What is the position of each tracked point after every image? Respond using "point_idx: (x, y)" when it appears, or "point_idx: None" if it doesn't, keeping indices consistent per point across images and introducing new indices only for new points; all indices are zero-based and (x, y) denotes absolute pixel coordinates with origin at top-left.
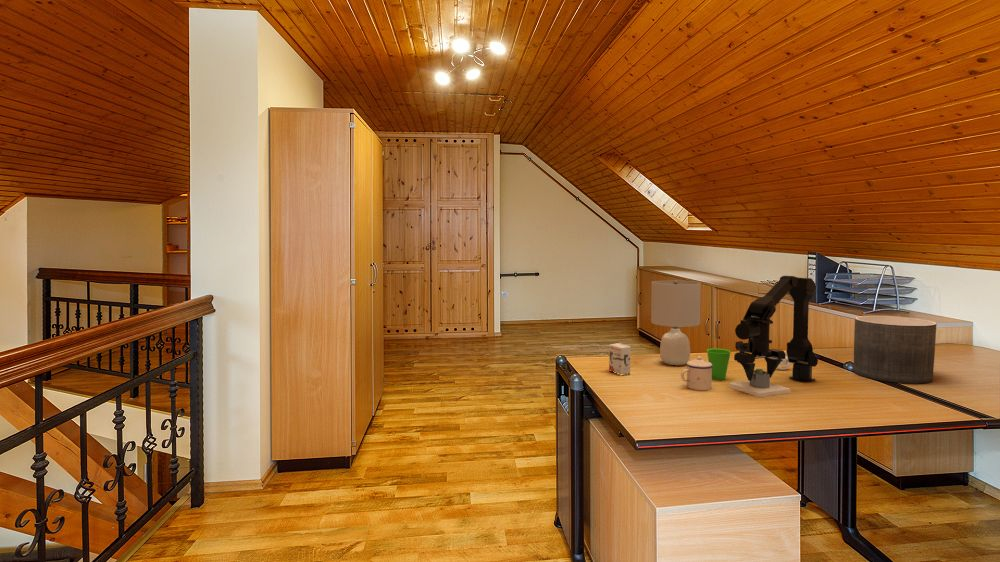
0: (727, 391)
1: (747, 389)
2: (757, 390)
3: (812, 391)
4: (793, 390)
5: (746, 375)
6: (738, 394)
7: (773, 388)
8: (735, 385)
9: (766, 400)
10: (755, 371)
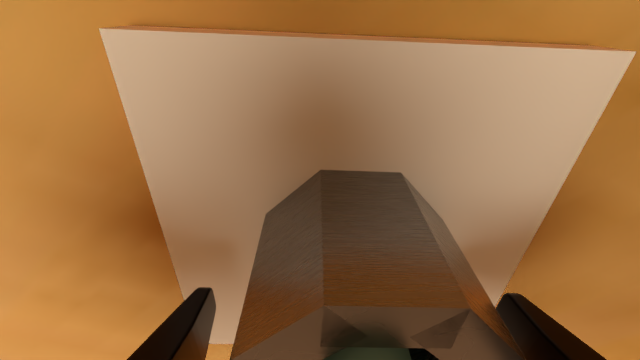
0: (33, 146)
1: (174, 264)
2: (228, 308)
3: (597, 337)
4: (539, 299)
5: (150, 336)
6: (98, 235)
7: None
8: (135, 137)
9: (208, 348)
10: (384, 340)
